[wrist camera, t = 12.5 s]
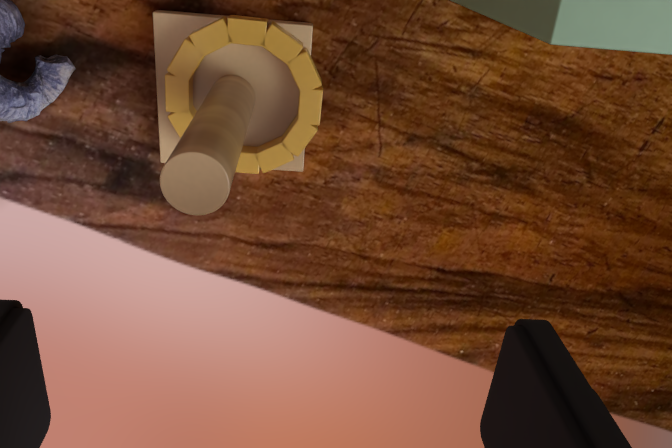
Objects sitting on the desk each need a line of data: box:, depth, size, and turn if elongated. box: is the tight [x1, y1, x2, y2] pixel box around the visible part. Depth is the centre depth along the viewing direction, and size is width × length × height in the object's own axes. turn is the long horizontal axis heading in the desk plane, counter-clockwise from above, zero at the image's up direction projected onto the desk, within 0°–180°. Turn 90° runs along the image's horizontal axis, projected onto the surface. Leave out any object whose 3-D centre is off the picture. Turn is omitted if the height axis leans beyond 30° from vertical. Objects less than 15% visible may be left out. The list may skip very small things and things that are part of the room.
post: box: [153, 10, 313, 215], centre depth 26 cm, size 8×8×13 cm
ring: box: [165, 15, 323, 174], centre depth 30 cm, size 8×8×1 cm
